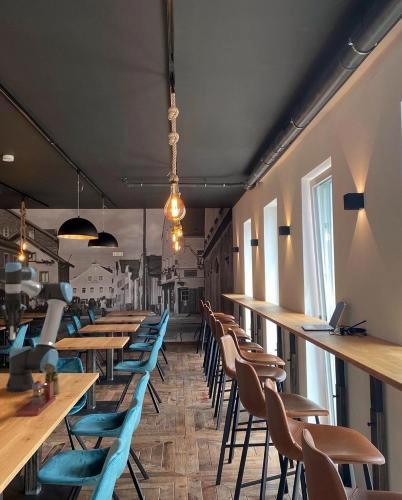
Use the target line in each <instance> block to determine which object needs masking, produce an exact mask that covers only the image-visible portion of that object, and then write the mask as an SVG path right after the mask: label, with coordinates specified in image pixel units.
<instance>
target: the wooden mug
mask: <svg viewBox="0 0 402 500" xmlns="http://www.w3.org/2000/svg"><path fill="white" fill-rule="evenodd" d="M43 368H44V371H43V372H45V378H44V379H45V380H44V384H46V383H47V382H49V381H53V396H57V395H59V394H60V393H61V390H60V384H59V383H60V381H59V373H58V371H56V366H54V365H52V364H49V363H48V364H46V365H45V366H44V367H43ZM42 395H43V396H46V389H43V392H42Z"/></svg>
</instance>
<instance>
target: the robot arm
mask: <svg viewBox="0 0 402 500" xmlns="http://www.w3.org/2000/svg"><path fill="white" fill-rule="evenodd" d="M35 277H36V270H35V269H34V268H33V267H32V266H22V263H21V262H6V264H5V266H0V282H2V283H4V285H5V286H4V288H5V289H4V292H5V294H4V303H3V305H1V306H0V311H1V315H2V318H3V319H2V320H3V323H4V326H7V328H8V329H7V331H8V333H9V340H11V341H13V340H15V339H16V333H18V326H20V325H22V321H23V318H24V317H23V316H24V313H25V310H26V309H27V305H24V304H22V303H23V302H22V293H21V292H24V293H26V295H28V296H29V297H31V298H33V299H36V300H38V301H41V302H46V303H47V304H48V307H47V309H46V310H47V311H46V316H45V319H44V323H43V327H42V330H41V334H40V338H39V342H37V343H36V344H35V346H34V349H33V348H32V346H30V345H29V346H23V347H22V346H21V347H17V348H13V349H11V350H10V352H9V358H8V359H9V377H8V380H7V382H6V386H5V391H7V392H9V393H10V392H13V393H14V392H15V393H16V392H17V393H18V392H23V391H27V390H22V385H23V384H34V383H35V380H34V377H33V373H32V371H42V372H45V371H44V368H43V367H44V366H45V365H46V364H48V363H49V364H52V365H54V366H55V367H56V365H57V364H58V361H59V352H58V350H57V347H56V345H55V344H56V339H57V335H58V331H59V327H60V323H61V319H62V314H63V310H64V308H65V307H67V305H68V303H69V302H72V300H73V297H74V296H73V288H72V286H71V284H70V283H68V282H63V281H62V282H39V281H35V280H34V278H35ZM33 280H34V281H33Z"/></svg>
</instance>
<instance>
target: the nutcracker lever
mask: <svg viewBox="0 0 402 500" xmlns="http://www.w3.org/2000/svg"><path fill="white" fill-rule="evenodd" d="M38 388H40V389H41V390H42V389H43V390H44V389H46V384H45V383H41V384H40V385H38V384H23V385H22V390H26V391H29V390H31V391H33V390H34V389H38Z"/></svg>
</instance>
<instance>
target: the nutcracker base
mask: <svg viewBox="0 0 402 500" xmlns="http://www.w3.org/2000/svg"><path fill="white" fill-rule="evenodd" d="M34 384H38V385H40V384H42V381H41V380H37V381H34ZM32 392H33V394H32V395H33V396H32V397H31V399H30V400H29V401H28V402H26V404H24V405H23V406H21V407H20V408H19V409H18V410H16V415H15V416H16V417H17V416H18V417H21V416H22V417H24V416H25V417H27V416H31V417H33V416H34V417H35V416H39V415H40V414H41V413H43V412H44V411H45V410H46V409H47V408H48V407H49V406H50V405H51V404H53V403H54V402H55V401H56V399H57V395H53V381H49V382H47V383H46V395H43V394H42V389H40V388H38V389H34V390H32Z"/></svg>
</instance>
